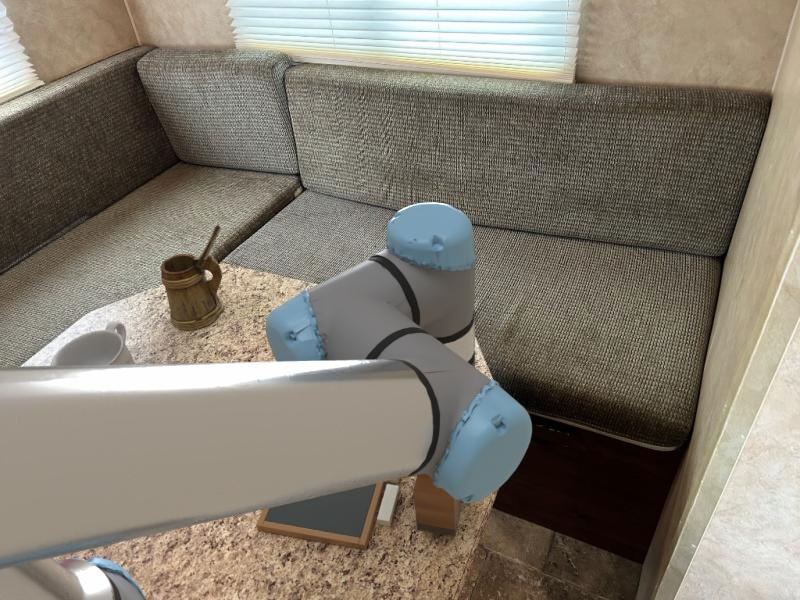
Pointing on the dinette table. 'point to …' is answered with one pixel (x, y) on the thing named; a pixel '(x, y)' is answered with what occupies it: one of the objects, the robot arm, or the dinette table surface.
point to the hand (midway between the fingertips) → (444, 485)
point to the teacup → (96, 348)
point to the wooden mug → (193, 288)
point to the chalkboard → (328, 517)
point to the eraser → (435, 507)
